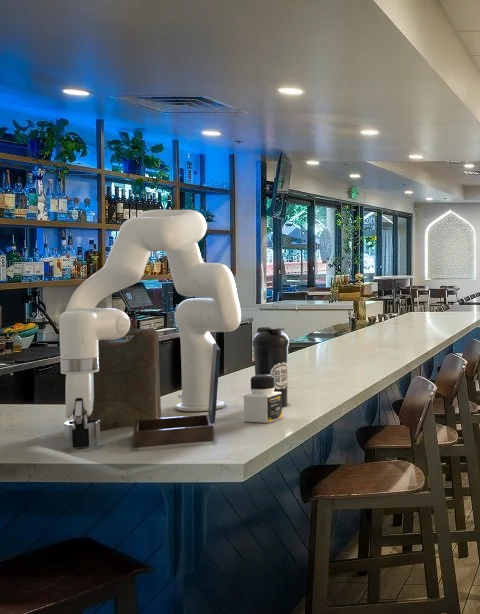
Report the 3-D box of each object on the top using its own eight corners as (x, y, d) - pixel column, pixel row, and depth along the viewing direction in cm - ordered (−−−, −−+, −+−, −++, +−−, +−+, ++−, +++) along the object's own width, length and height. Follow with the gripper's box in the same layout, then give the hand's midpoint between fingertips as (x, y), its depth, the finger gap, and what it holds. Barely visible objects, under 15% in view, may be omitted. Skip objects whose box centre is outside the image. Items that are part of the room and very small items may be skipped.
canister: (162, 422, 208) (159, 327, 206) (156, 428, 200) (153, 330, 198) (82, 426, 203) (79, 329, 201) (72, 433, 195) (69, 332, 193)
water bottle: (269, 410, 224) (268, 329, 223) (246, 406, 229) (244, 328, 228) (297, 404, 233) (296, 327, 231) (274, 401, 238) (273, 325, 237)
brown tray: (133, 451, 177) (133, 432, 177) (135, 437, 190) (135, 420, 190) (213, 443, 184) (213, 425, 184) (210, 431, 197) (209, 414, 197)
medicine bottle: (268, 423, 207) (267, 377, 206) (243, 422, 208) (242, 377, 207) (282, 417, 214) (281, 374, 213) (258, 416, 215) (257, 373, 214)
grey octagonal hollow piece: (60, 446, 179) (59, 422, 178) (90, 440, 184) (89, 417, 184) (74, 450, 175) (73, 426, 175) (104, 444, 180) (104, 421, 180)
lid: (216, 349, 183) (220, 349, 183) (213, 343, 196) (216, 343, 197) (211, 423, 184) (215, 423, 184) (208, 412, 197) (211, 412, 197)
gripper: (65, 361, 185) (67, 436, 186) (56, 371, 169) (58, 453, 170) (101, 360, 188) (104, 433, 189) (96, 369, 172) (98, 449, 173)
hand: (82, 442), depth 179 cm, fingers closed on grey octagonal hollow piece, 7 cm apart
